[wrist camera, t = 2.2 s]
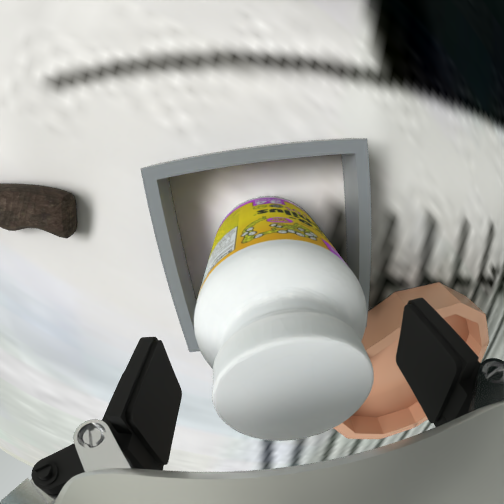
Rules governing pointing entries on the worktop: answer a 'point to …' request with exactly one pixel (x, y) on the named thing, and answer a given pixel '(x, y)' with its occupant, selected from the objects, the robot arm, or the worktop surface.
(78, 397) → the worktop surface
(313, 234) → the supplement bottle
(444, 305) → the bowl
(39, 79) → the worktop surface
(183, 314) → the grey square frame
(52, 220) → the cleaver
